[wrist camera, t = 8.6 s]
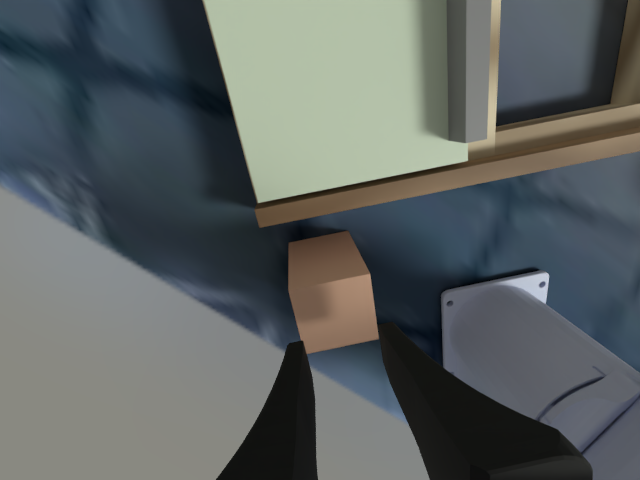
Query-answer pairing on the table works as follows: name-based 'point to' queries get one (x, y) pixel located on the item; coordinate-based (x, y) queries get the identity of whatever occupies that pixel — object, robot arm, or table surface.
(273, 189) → the lid
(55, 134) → the table surface
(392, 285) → the table surface
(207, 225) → the table surface
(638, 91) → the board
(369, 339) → the block
